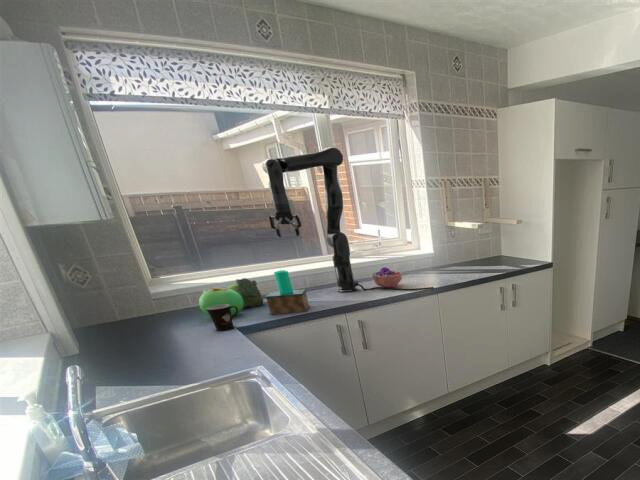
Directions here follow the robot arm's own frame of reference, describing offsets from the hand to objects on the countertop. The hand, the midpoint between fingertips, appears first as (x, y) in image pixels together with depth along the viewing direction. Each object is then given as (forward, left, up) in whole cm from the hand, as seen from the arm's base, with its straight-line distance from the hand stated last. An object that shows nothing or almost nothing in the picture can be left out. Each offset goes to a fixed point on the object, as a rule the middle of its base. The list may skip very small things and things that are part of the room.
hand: (289, 236), depth 221 cm
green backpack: (+28, +10, -33) cm, 45 cm away
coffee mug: (+23, +48, -33) cm, 63 cm away
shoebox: (+2, +25, -33) cm, 41 cm away
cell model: (-46, -12, -33) cm, 58 cm away
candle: (+2, +25, -24) cm, 35 cm away
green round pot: (+31, +26, -33) cm, 52 cm away
